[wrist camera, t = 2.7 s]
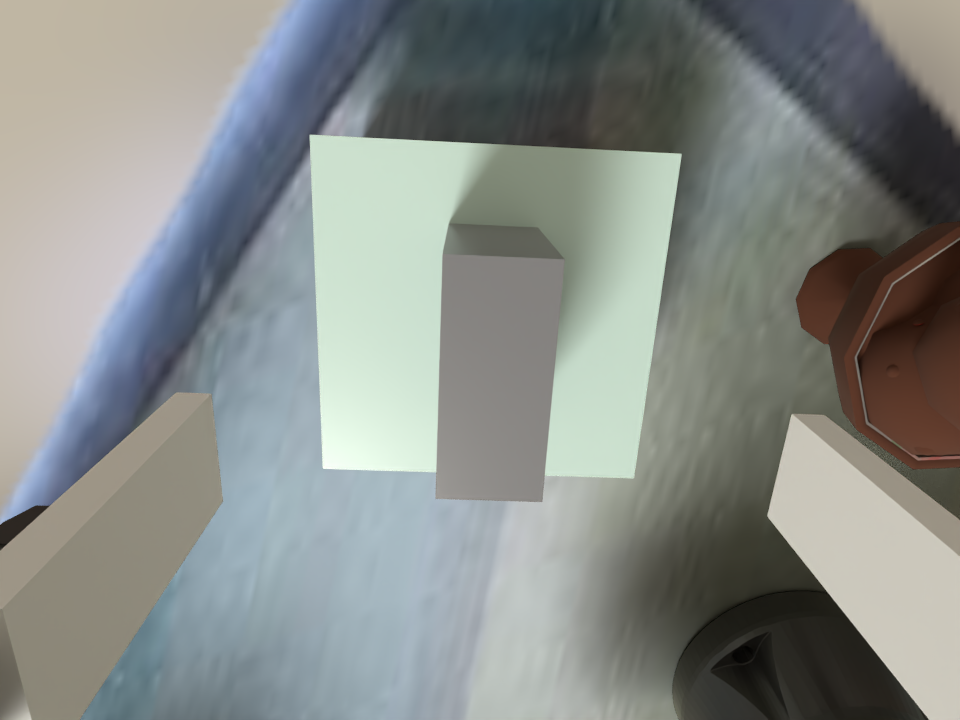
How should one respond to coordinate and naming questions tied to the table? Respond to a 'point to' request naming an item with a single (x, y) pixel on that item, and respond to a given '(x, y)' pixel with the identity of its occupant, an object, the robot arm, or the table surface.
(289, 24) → the table surface
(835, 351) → the ice cream bowl
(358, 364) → the lid
